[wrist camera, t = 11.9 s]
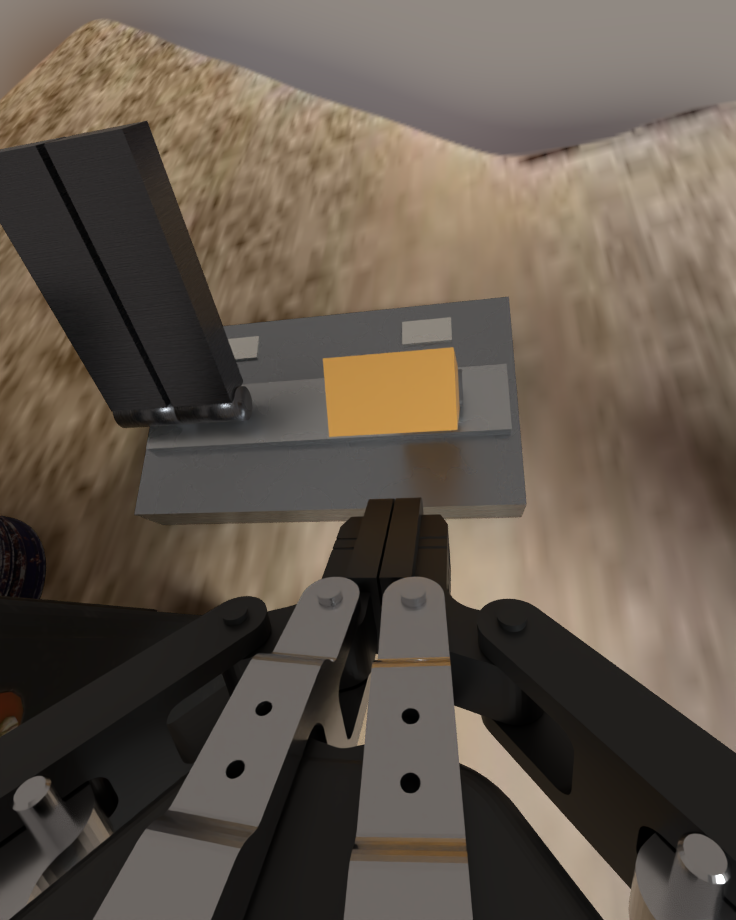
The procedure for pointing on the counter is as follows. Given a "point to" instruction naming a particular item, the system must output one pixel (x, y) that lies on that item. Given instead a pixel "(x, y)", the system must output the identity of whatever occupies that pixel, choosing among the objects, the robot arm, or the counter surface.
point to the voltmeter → (74, 651)
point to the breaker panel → (243, 358)
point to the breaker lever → (393, 392)
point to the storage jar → (20, 560)
